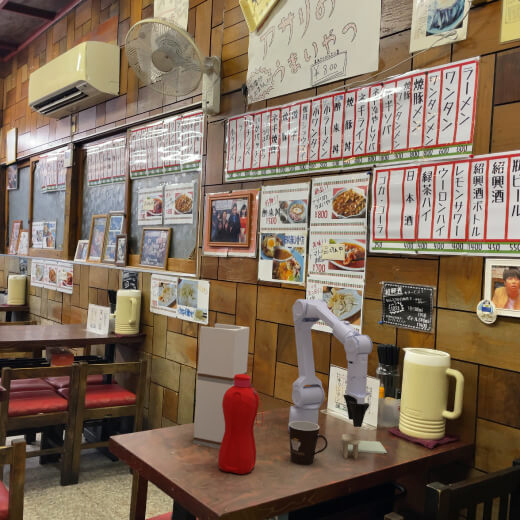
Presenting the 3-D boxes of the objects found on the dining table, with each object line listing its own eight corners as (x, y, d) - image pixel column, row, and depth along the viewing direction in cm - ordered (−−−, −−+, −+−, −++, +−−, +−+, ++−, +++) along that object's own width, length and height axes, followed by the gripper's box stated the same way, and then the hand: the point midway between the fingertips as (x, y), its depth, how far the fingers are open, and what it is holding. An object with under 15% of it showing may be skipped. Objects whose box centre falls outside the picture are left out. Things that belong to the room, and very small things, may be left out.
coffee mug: (281, 456, 155) (283, 421, 155) (308, 454, 159) (310, 420, 159) (300, 472, 145) (302, 434, 145) (328, 469, 148) (330, 432, 148)
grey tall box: (242, 440, 167) (249, 327, 167) (227, 450, 157) (235, 330, 157) (209, 434, 171) (216, 323, 171) (193, 443, 161) (200, 326, 162)
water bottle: (254, 478, 139) (260, 380, 139) (214, 471, 141) (220, 375, 142) (264, 466, 147) (269, 374, 147) (226, 459, 150) (231, 369, 150)
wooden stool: (342, 459, 156) (343, 438, 156) (339, 453, 162) (340, 432, 162) (360, 460, 156) (361, 439, 156) (356, 454, 162) (358, 434, 162)
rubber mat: (347, 451, 163) (347, 449, 163) (342, 441, 172) (342, 439, 172) (386, 453, 164) (386, 451, 164) (379, 443, 173) (379, 441, 173)
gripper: (376, 382, 152) (374, 430, 152) (365, 372, 167) (363, 417, 166) (351, 380, 152) (349, 429, 152) (342, 371, 167) (340, 416, 166)
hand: (354, 423), depth 159 cm, fingers open, 7 cm apart
